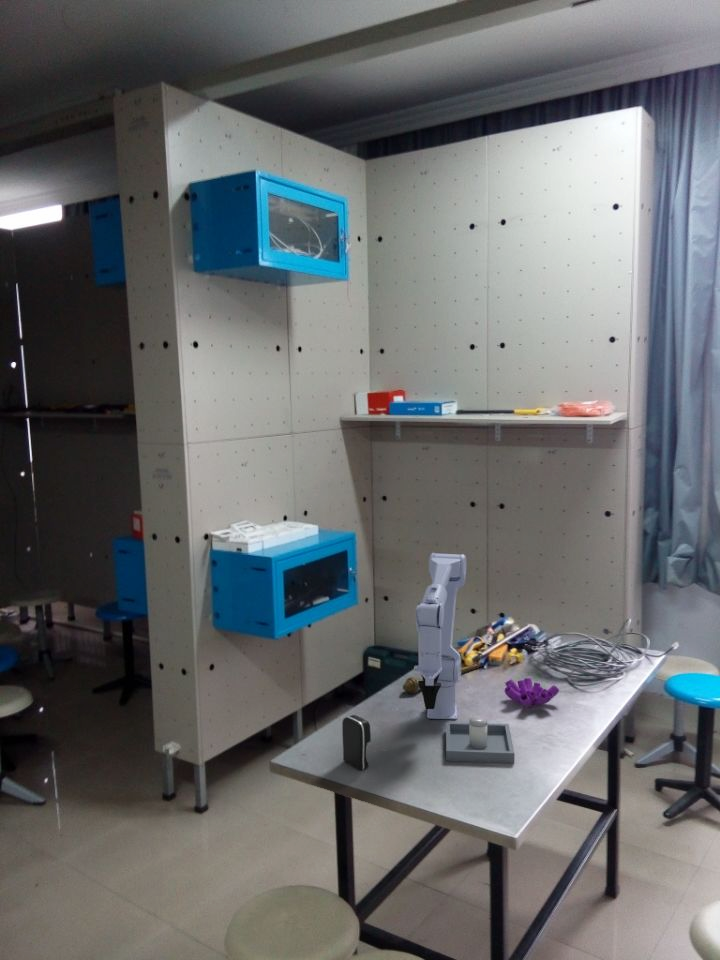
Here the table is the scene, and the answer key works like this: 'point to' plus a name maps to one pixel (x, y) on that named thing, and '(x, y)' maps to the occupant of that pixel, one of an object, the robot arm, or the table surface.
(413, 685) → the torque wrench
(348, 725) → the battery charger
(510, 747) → the tray
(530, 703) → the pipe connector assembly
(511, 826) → the table surface
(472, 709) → the table surface
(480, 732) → the cylinder
